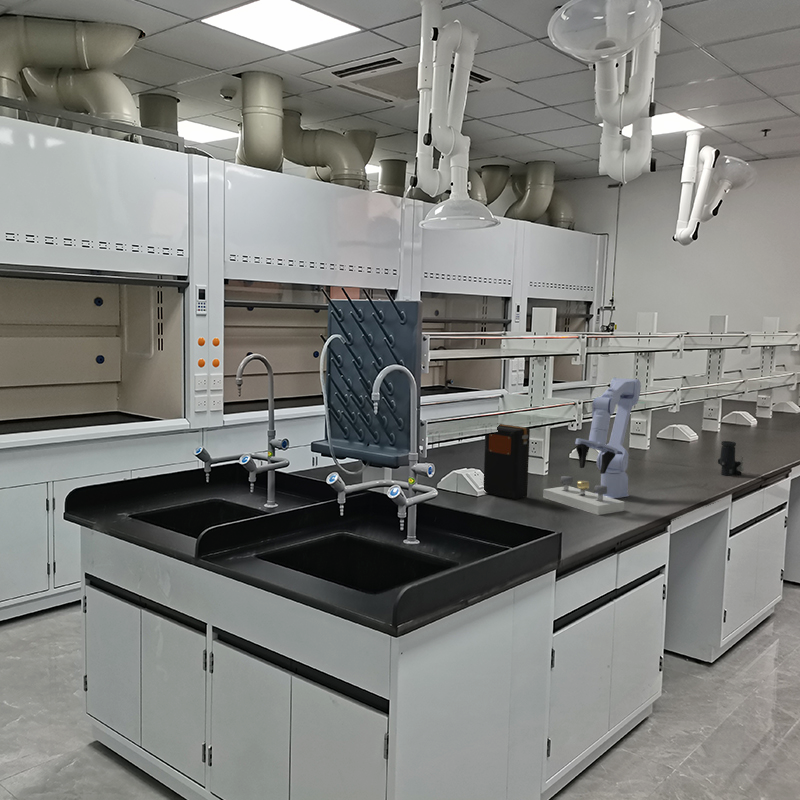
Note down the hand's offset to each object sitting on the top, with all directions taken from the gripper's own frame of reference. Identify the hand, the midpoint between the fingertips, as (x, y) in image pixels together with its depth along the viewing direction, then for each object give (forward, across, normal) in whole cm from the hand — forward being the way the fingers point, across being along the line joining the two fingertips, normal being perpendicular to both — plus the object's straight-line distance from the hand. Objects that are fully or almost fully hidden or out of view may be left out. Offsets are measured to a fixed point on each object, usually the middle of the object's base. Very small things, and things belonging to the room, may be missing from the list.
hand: (592, 470), depth 245 cm
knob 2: (+9, +5, +1) cm, 11 cm away
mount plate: (+10, +3, +9) cm, 14 cm away
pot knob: (+8, +2, +8) cm, 12 cm away
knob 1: (+7, -1, +16) cm, 17 cm away
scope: (-22, +82, +45) cm, 96 cm away
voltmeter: (+12, -20, +24) cm, 34 cm away
